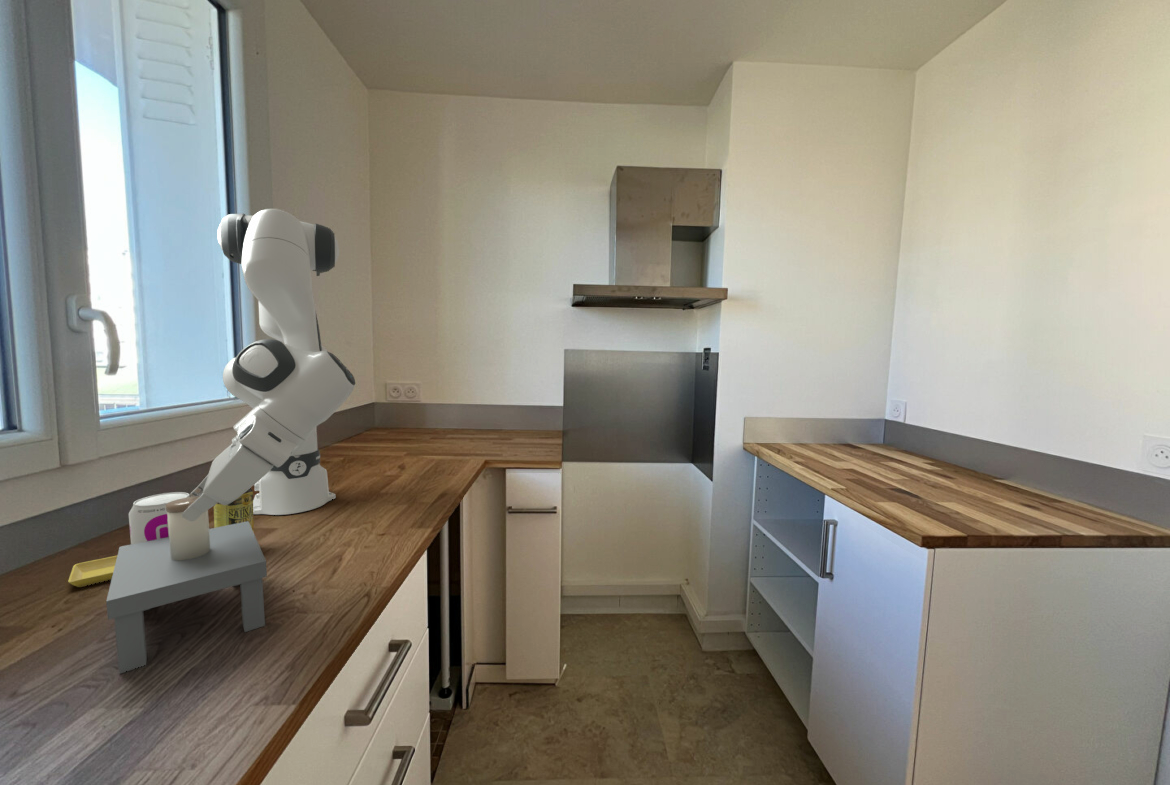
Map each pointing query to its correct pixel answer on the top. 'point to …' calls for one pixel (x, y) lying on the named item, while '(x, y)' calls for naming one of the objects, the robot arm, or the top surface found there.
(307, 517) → the top surface
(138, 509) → the supplement can
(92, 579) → the yellow shallow tray
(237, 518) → the sauce bottle
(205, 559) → the footstool
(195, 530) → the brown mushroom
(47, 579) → the top surface
